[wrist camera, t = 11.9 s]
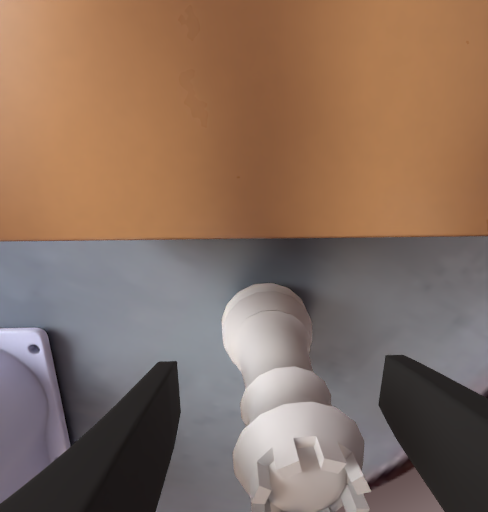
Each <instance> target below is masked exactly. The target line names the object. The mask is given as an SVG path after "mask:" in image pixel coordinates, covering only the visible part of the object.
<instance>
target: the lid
mask: <svg viewBox="0 0 488 512" xmlns="http://www.w3.org/2000/svg"><path fill="white" fill-rule="evenodd" d="M462 236H488V0H0V241H85V240H179V239H273V238H367V237H462Z"/></svg>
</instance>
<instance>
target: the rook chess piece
mask: <svg viewBox="0 0 488 512" xmlns="http://www.w3.org/2000/svg"><path fill="white" fill-rule="evenodd" d="M222 334H223V345H224V347H225V350H226V351H227V353H228V355H229V356H230V358H231V360H232V362H233V363H234V364H235V365H237V367H238V368H239V370H240V371H241V372H242V376H243V380H244V384H245V388H246V390H245V392H244V395H243V397H242V400H241V402H240V407H241V418H242V420H243V421H244V423H245V425H246V427H245V428H244V430H243V431H242V432H241V434H240V436H239V439H238V441H237V444H236V446H235V448H234V451H233V464H234V474H235V475H236V477H237V478H238V480H239V481H240V483H241V484H242V486H243V487H244V489H245V490H246V492H247V493H248V494H249V496H250V497H251V508H252V512H336V511H337V510H338V509H340V508H341V507H342V506H343V505H344V508H345V511H346V512H369V510H370V508H369V506H368V504H367V501H366V499H365V497H364V495H363V494H364V493H368V492H371V490H370V488H369V486H368V484H367V481H366V479H365V477H364V475H363V473H362V471H361V470H362V465H363V456H364V439H363V437H362V435H361V433H360V431H359V429H358V426H357V424H356V422H355V421H353V420H352V419H351V418H349V417H348V416H347V415H346V414H344V413H343V412H342V411H340V410H339V409H338V408H336V407H333V406H331V394H330V392H329V390H328V388H327V385H326V383H325V381H323V380H322V379H321V378H320V377H318V376H317V375H316V374H315V373H314V372H313V369H312V365H311V361H310V357H309V353H310V346H311V344H312V321H311V319H310V317H309V315H308V313H307V310H306V308H305V306H304V304H303V302H302V300H301V298H299V297H298V296H297V295H296V294H295V293H294V292H292V291H291V290H290V289H289V288H286V287H283V286H280V285H277V284H274V283H265V284H254V285H252V286H250V287H248V288H246V289H243V290H241V291H239V292H238V293H237V294H236V295H235V296H234V297H233V298H232V299H231V301H230V302H229V303H228V304H227V305H226V308H225V311H224V314H223V317H222Z"/></svg>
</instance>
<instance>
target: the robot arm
mask: <svg viewBox="0 0 488 512" xmlns="http://www.w3.org/2000/svg"><path fill="white" fill-rule="evenodd" d="M35 345H37V346H38V347H39V349H38V348H37V347H36V346H35ZM379 407H380V409H381V411H382V413H383V415H384V417H385V419H386V421H387V423H388V425H389V426H390V428H391V430H392V432H393V434H394V436H395V437H396V439H397V441H398V442H399V444H400V445H401V447H402V448H403V450H404V451H405V453H406V454H407V456H408V458H409V459H410V461H411V462H412V464H413V465H414V467H415V468H416V470H417V471H418V472H419V474H420V475H421V477H422V479H423V480H424V482H425V483H426V485H427V486H428V487H429V489H430V490H431V492H432V493H433V495H434V496H435V498H436V499H437V501H438V502H439V504H440V505H441V507H442V508H443V510H444V511H445V512H488V399H487V398H486V397H484V396H482V395H480V394H478V393H476V392H474V391H472V390H470V389H468V388H467V387H465V386H463V385H461V384H459V383H457V382H455V381H453V380H451V379H450V378H448V377H446V376H444V375H442V374H440V373H438V372H436V371H435V370H433V369H431V368H429V367H427V366H425V365H423V364H421V363H419V362H417V361H415V360H413V359H411V358H408V357H406V356H404V355H386V356H385V363H384V370H383V377H382V384H381V391H380V398H379ZM180 413H181V410H180V397H179V384H178V370H177V361H171V362H158V363H157V364H156V365H155V366H154V367H153V368H152V369H151V370H150V371H149V372H148V373H147V374H146V375H145V376H144V377H143V378H142V379H141V380H140V381H139V382H138V383H137V384H136V385H135V386H134V387H133V388H132V389H131V390H130V391H129V392H128V393H127V394H126V395H125V396H124V397H123V398H122V399H121V400H120V401H119V402H118V403H117V404H116V405H115V406H114V407H113V408H112V409H111V410H110V411H109V412H108V413H107V414H106V415H105V416H104V417H103V418H102V419H101V420H100V421H98V422H97V423H96V424H95V425H94V426H93V427H92V428H91V429H90V430H89V431H87V432H86V433H85V434H84V435H83V436H82V437H81V438H80V439H79V440H78V441H77V442H75V443H74V444H73V445H72V446H70V441H69V436H68V431H67V426H66V421H65V416H64V411H63V407H62V402H61V397H60V392H59V387H58V382H57V377H56V373H55V368H54V363H53V358H52V353H51V348H50V343H49V338H48V335H47V333H46V332H45V331H44V330H43V329H41V328H36V327H35V328H0V512H156V508H157V505H158V501H159V498H160V495H161V491H162V488H163V484H164V481H165V477H166V474H167V470H168V467H169V463H170V460H171V456H172V453H173V449H174V445H175V440H176V435H177V430H178V424H179V418H180Z"/></svg>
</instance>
